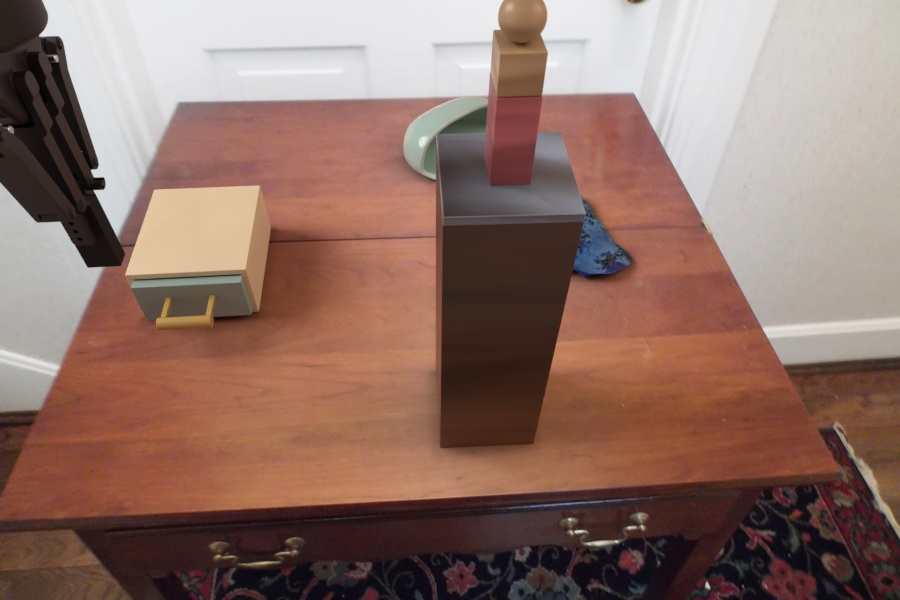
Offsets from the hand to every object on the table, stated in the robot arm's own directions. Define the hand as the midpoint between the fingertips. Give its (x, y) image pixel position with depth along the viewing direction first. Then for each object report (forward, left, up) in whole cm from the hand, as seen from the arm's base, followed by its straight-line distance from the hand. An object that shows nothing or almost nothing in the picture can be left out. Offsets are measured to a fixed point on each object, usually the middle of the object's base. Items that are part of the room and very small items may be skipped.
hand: (106, 260), depth 54 cm
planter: (+57, +7, -23) cm, 62 cm away
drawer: (+12, +12, -22) cm, 27 cm away
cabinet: (+15, +15, -22) cm, 31 cm away
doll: (+21, -25, +10) cm, 34 cm away
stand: (+21, -25, -22) cm, 40 cm away
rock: (+50, -18, -23) cm, 58 cm away
